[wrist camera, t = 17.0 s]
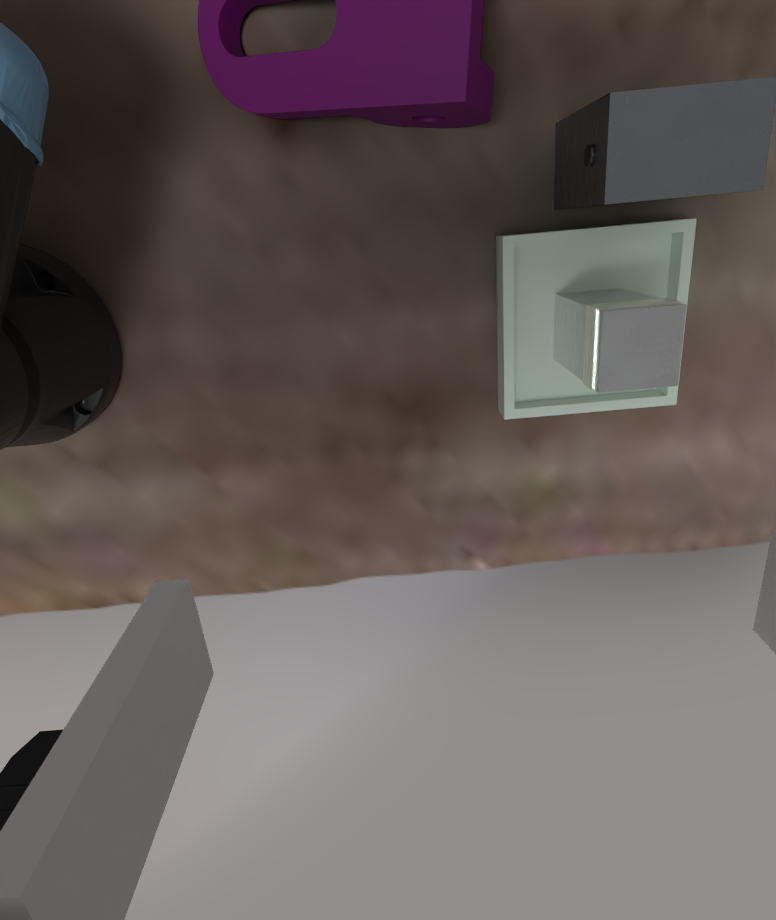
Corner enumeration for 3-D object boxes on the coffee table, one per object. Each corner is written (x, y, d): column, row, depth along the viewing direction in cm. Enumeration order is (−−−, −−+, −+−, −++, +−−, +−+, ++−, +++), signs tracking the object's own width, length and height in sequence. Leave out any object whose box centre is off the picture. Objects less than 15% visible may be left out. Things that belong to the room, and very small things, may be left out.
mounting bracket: (278, 135, 45) (503, 126, 38) (205, 116, 38) (465, 102, 31) (272, -14, 42) (519, -52, 35) (190, -65, 34) (480, -125, 28)
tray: (498, 410, 48) (504, 419, 45) (495, 235, 43) (502, 236, 40) (661, 395, 48) (676, 404, 45) (679, 218, 42) (696, 218, 40)
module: (551, 360, 45) (596, 394, 36) (553, 292, 43) (601, 310, 34) (617, 354, 45) (679, 387, 36) (622, 286, 43) (688, 302, 34)
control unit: (550, 209, 42) (599, 204, 33) (552, 123, 40) (605, 92, 31) (680, 197, 42) (767, 189, 33) (689, 110, 40) (784, 75, 31)
